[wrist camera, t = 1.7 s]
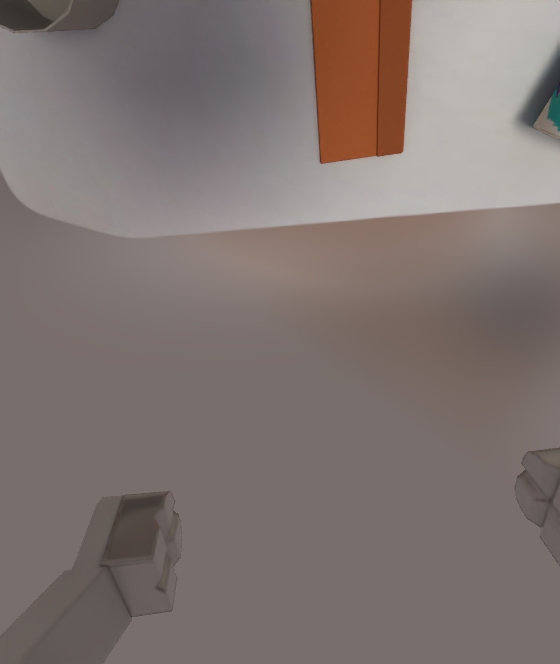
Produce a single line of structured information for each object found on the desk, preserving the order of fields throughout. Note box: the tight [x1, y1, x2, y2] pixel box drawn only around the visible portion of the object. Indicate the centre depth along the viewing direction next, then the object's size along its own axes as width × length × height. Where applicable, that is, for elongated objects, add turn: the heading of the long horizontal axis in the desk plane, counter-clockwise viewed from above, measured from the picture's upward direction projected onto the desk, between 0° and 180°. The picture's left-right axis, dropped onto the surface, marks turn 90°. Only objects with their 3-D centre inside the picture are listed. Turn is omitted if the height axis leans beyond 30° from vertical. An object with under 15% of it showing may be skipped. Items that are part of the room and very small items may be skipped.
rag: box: [311, 0, 412, 164], centre depth 35 cm, size 14×8×1 cm, turn 7°
